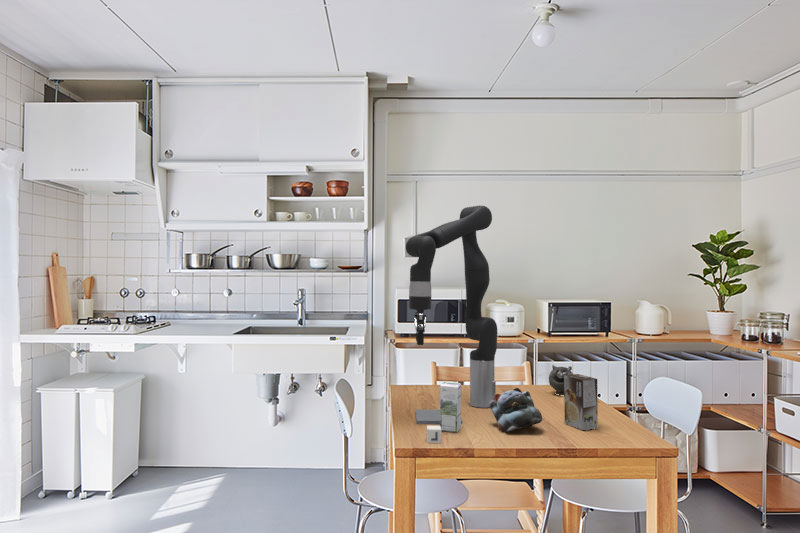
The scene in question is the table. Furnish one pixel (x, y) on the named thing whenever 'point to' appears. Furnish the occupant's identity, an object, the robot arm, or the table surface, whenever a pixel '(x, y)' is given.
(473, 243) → the robot arm
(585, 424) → the coffee box
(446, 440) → the table surface
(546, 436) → the table surface
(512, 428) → the lucky cat figurine
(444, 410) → the syrup box
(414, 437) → the table surface
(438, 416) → the grey board
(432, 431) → the white letter cube
